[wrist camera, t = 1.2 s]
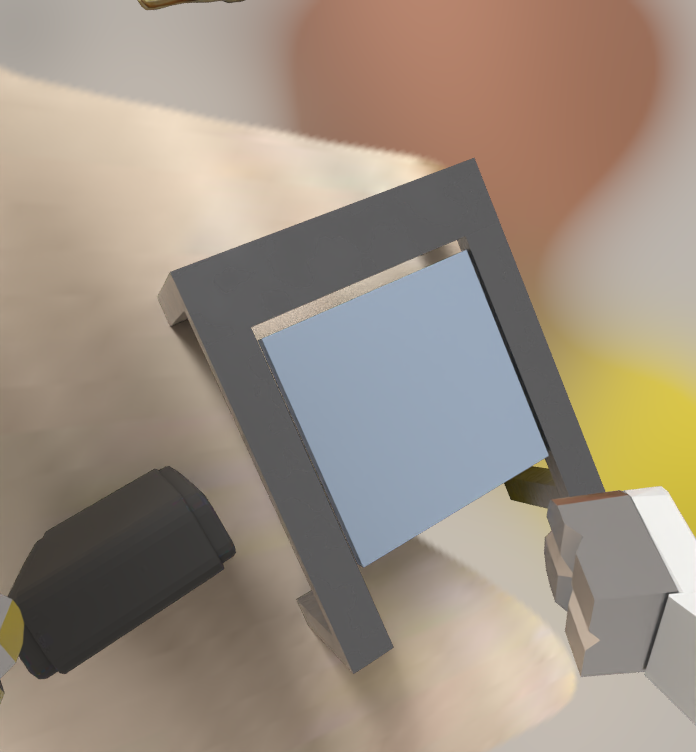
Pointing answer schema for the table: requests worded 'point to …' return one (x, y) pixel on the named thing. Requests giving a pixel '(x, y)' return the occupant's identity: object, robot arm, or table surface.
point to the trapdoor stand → (327, 275)
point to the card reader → (115, 569)
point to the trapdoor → (405, 404)
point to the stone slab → (173, 3)
